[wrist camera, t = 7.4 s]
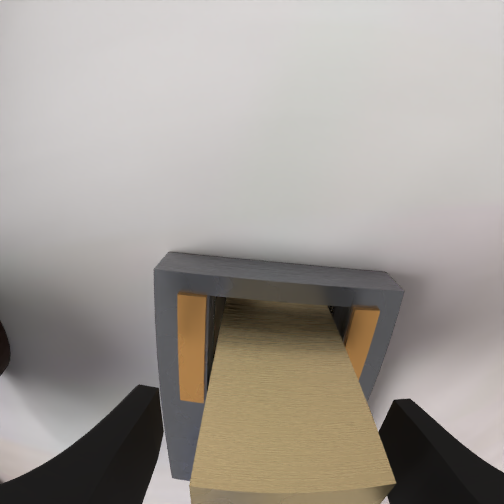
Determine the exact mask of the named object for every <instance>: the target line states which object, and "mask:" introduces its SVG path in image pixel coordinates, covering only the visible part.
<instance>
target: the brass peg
mask: <svg viewBox="0 0 504 504" xmlns="http://www.w3.org/2000/svg"><path fill="white" fill-rule="evenodd" d="M395 484H396V481H395V478H394V475H393V472H392V469H391V467H390V464H389V461H388V458H387V455H386V452H385V450H384V447H383V444H382V441H381V439H380V436H379V433H378V430H377V428H376V425H375V422H374V420H373V417H372V414H371V412H370V409H369V407H368V404H367V401H366V399H365V396H364V394H363V391H362V388H361V386H360V383H359V381H358V378H357V376H356V373H355V371H354V368H353V366H352V363H351V361H350V358H349V356H348V353H347V351H346V349H345V346H344V344H343V341H342V339H341V336H340V334H339V332H338V329H337V327H336V324H335V322H334V320H333V317H332V315H331V313H330V310H329V308H328V306H327V305H312V304H298V303H285V302H273V301H262V300H250V299H240V298H229V297H227V298H226V303H225V307H224V312H223V317H222V322H221V327H220V332H219V336H218V341H217V346H216V351H215V356H214V361H213V366H212V371H211V376H210V381H209V386H208V391H207V396H206V401H205V406H204V411H203V417H202V422H201V427H200V432H199V437H198V443H197V448H196V453H195V458H194V464H193V469H192V474H191V480H190V485H189V487H190V496H191V504H380V503H381V502H382V501H383V500H384V498H385V497H386V496H387V495H388V493H389V492H390V491H391V490H392V488H393V487H394V486H395Z"/></svg>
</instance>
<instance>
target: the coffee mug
mask: <svg viewBox="0 0 504 504" xmlns="http://www.w3.org/2000/svg"><path fill="white" fill-rule="evenodd" d="M9 361H10V346H9V342H8V338H7V336H6V333H5V330H4V328H3V326H2V324H1V322H0V376H1V374H2V373H3V371H4V370H5V369H6V367H7V366H8V364H9Z"/></svg>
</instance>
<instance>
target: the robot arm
mask: <svg viewBox="0 0 504 504" xmlns="http://www.w3.org/2000/svg"><path fill="white" fill-rule="evenodd" d="M163 432H164V430H163V422H162V414H161V406H160V397H159V388H156V387H150V386H145V385H140V384H139V385H138V386H136V387H135V388H134V389H133V390H132V391H131V392H130V393H129V394H128V395H127V396H126V397H125V398H124V399H123V401H122V402H120V403H119V404H118V405H117V406H116V407H115V408H114V409H113V410H112V411H111V412H110V413H109V414H108V415H107V416H106V417H105V418H104V419H103V420H101V421H100V422H99V423H98V424H97V425H96V426H95V427H94V428H93V429H91V430H90V431H89V432H88V433H87V434H85V435H84V436H83V437H82V438H80V439H79V440H78V441H76V442H75V443H74V444H73V445H71V446H70V447H69V448H67V449H66V450H64V451H63V452H62V453H60V454H59V455H57V456H56V457H54V458H52V459H51V460H49V461H48V462H46V463H44V464H43V465H41V466H39V467H37V468H35V469H33V470H32V471H30V472H28V473H26V474H24V475H22V476H20V477H17V478H15V479H13V480H10V481H8V482H5V483H2V484H0V504H142V502H143V500H144V497H145V494H146V491H147V488H148V485H149V483H150V480H151V477H152V474H153V471H154V468H155V466H156V463H157V460H158V456H159V451H160V447H161V442H162V437H163ZM378 433H379V436H380V439H381V441H382V444H383V447H384V450H385V452H386V455H387V458H388V461H389V464H390V467H391V469H392V472H393V475H394V478H395V481H396V484H395V486H394V487H393V488H392V490H391V491H390V492H389V493H388V495H387V496H388V500H389V503H390V504H504V473H503V472H502V471H500V470H498V469H497V468H495V467H493V466H492V465H490V464H489V463H487V462H485V461H484V460H483V459H481V458H480V457H478V456H477V455H476V454H474V453H473V452H472V451H470V450H469V449H468V448H466V447H465V446H464V445H463V444H461V443H460V442H459V441H458V440H457V439H455V438H454V437H453V436H452V435H451V434H450V433H448V432H447V431H446V430H445V429H444V428H443V427H442V426H441V425H439V424H438V423H437V422H436V421H435V420H434V419H433V418H432V417H431V416H429V415H428V414H427V413H426V412H425V411H424V410H423V409H422V408H421V407H419V406H418V405H417V404H416V403H415V402H413V401H412V400H411V399H398V400H393V403H392V405H391V407H390V409H389V411H388V413H387V416H386V418H385V420H384V422H383V424H382V426H381V428H380V430H379V432H378Z"/></svg>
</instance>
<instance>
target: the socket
mask: <svg viewBox="0 0 504 504" xmlns="http://www.w3.org/2000/svg"><path fill="white" fill-rule="evenodd" d="M403 295H404V290H403V289H402V288H401V287H400V286H399V285H398V284H397V283H396V282H395V281H394V280H393V279H392V278H391V277H390V276H389V275H388V274H387V273H386V272H380V271H368V270H357V269H345V268H334V267H323V266H312V265H301V264H290V263H279V262H268V261H257V260H247V259H236V258H226V257H215V256H205V255H195V254H184V253H174V252H168V253H167V254H166V255H165V257H164V258H163V259H162V260H161V261H160V263H159V264H158V265H157V266H156V267H155V268H154V300H155V324H156V342H157V357H158V370H159V381H160V392H161V401H162V410H163V419H164V427H165V435H166V442H167V449H168V456H169V462H170V468H171V474H172V478H175V479H181V480H187V481H190V480H191V474H192V469H193V464H194V458H195V453H196V448H197V443H198V437H199V432H200V427H201V422H202V417H203V411H204V406H205V401H206V396H207V391H208V386H209V381H210V376H211V371H212V360H213V336H214V314H215V296H219V297H229V298H240V299H250V300H262V301H273V302H285V303H298V304H312V305H327V306H334V310H333V315H332V317H333V320H334V322H335V324H336V327H337V329H338V332H339V334H340V336H341V339H342V341H343V344H344V346H345V349H346V351H347V353H348V356H349V358H350V361H351V363H352V366H353V368H354V371H355V373H356V376H357V378H358V381H359V383H360V386H361V388H362V391H363V394H364V396H365V399H366V401H368V399H369V396H370V394H371V391H372V389H373V386H374V384H375V381H376V378H377V376H378V373H379V370H380V368H381V365H382V362H383V359H384V356H385V353H386V350H387V347H388V344H389V341H390V338H391V335H392V332H393V329H394V326H395V322H396V319H397V316H398V312H399V309H400V306H401V302H402V298H403Z"/></svg>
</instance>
